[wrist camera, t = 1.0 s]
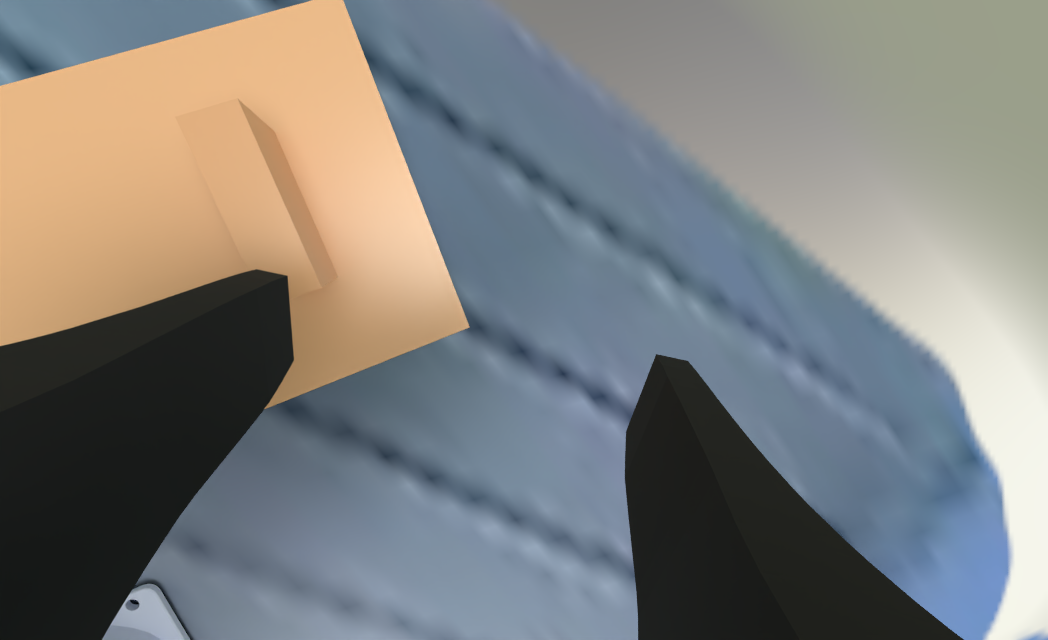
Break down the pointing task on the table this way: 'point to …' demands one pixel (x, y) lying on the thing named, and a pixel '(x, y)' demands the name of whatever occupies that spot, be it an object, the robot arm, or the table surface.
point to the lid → (222, 191)
